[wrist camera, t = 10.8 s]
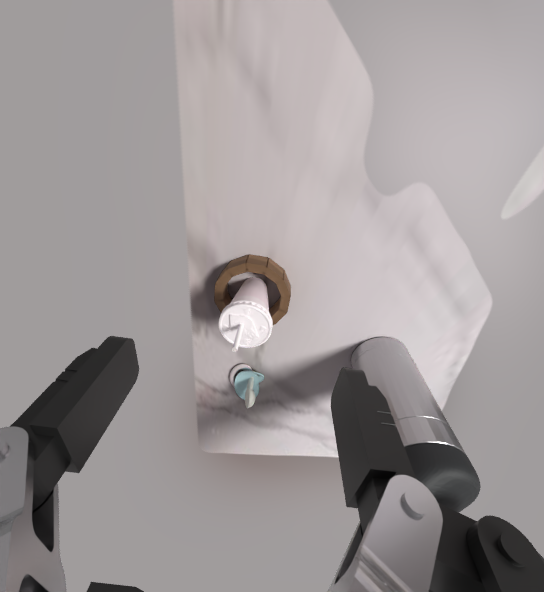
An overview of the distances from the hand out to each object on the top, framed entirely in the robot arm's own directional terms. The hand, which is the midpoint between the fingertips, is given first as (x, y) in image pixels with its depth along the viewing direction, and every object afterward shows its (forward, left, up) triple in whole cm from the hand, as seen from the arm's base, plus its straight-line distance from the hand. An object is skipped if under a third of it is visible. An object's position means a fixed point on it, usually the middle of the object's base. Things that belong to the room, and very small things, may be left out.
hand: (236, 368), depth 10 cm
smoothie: (-5, +11, -27) cm, 29 cm away
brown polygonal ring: (-5, +11, -27) cm, 29 cm away
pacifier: (-15, +26, -27) cm, 41 cm away
